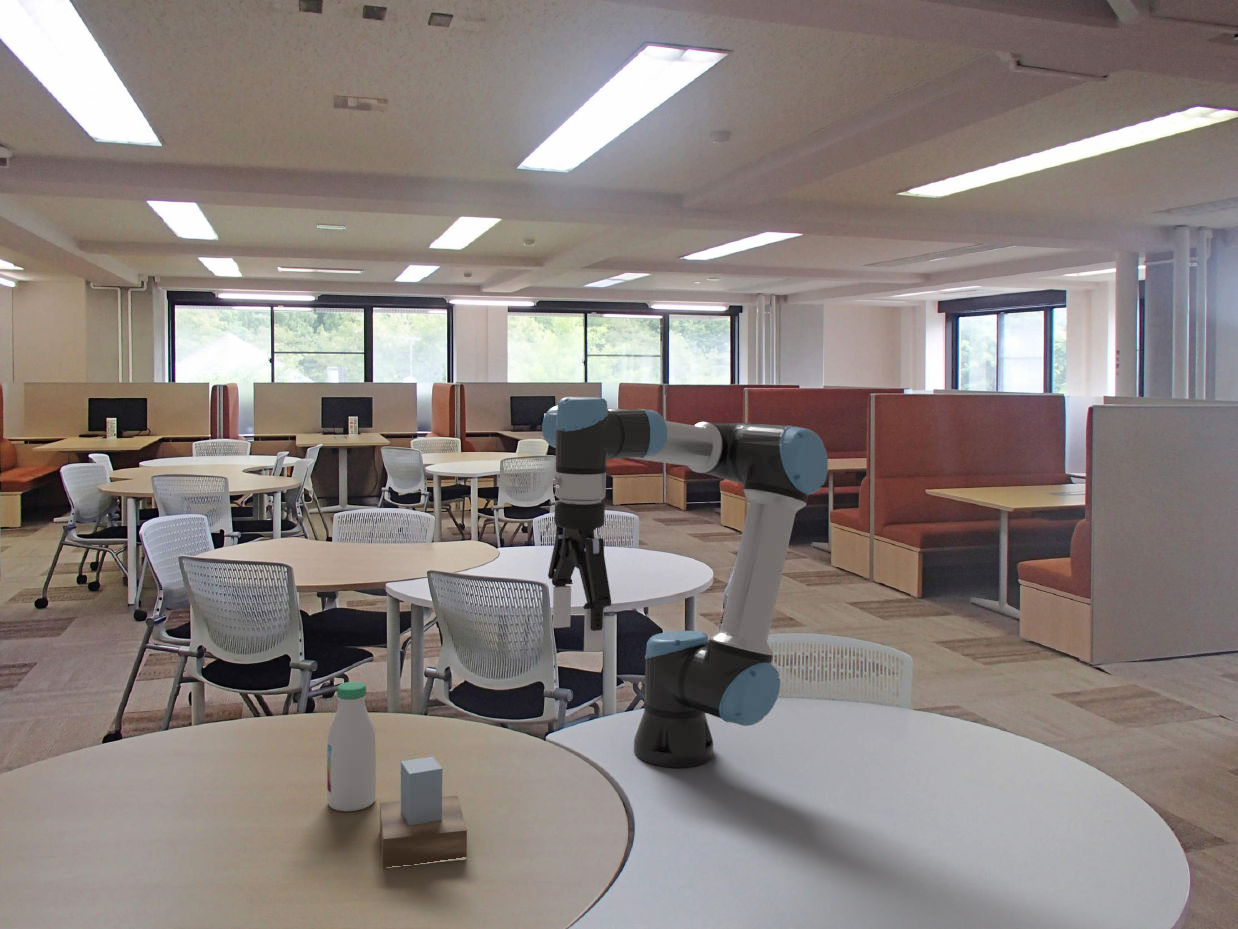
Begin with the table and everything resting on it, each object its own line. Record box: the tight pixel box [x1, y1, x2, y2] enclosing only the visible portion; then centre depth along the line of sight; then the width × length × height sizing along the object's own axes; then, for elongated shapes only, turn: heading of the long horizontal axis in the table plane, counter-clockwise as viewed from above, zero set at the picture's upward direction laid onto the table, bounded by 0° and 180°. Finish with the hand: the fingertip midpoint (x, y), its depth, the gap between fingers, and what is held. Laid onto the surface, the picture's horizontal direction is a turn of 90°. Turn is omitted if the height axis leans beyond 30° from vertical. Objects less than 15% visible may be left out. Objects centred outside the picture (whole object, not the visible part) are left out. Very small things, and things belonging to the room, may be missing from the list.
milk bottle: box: [326, 681, 377, 812], centre depth 162 cm, size 8×8×20 cm
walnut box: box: [379, 795, 468, 869], centre depth 149 cm, size 12×12×5 cm
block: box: [400, 756, 443, 826], centre depth 149 cm, size 5×5×8 cm
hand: (576, 638), depth 150 cm, fingers open, 13 cm apart
